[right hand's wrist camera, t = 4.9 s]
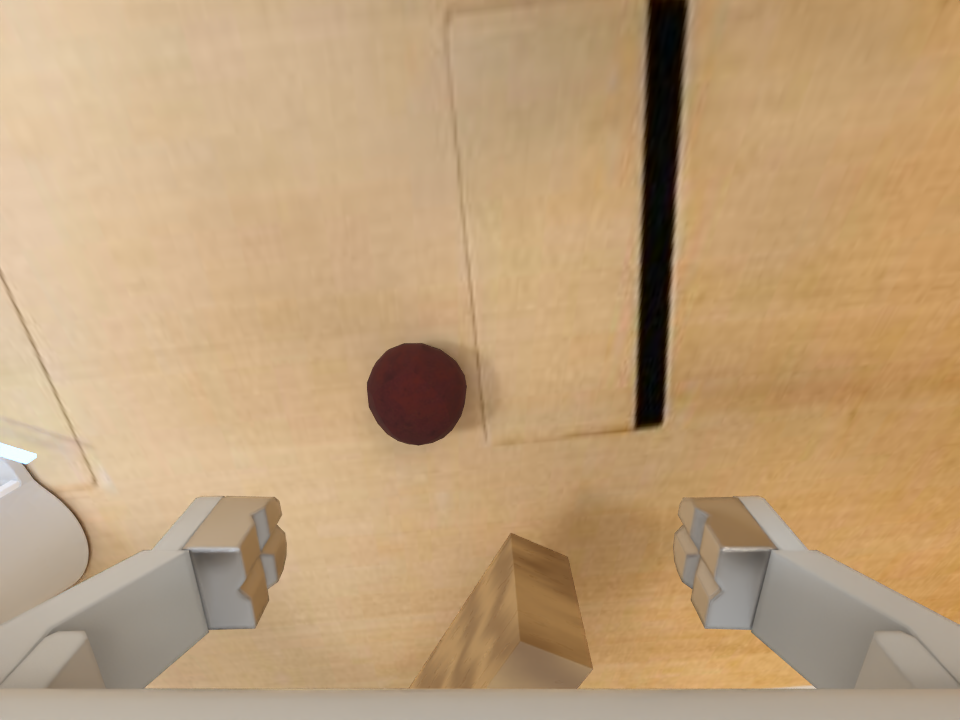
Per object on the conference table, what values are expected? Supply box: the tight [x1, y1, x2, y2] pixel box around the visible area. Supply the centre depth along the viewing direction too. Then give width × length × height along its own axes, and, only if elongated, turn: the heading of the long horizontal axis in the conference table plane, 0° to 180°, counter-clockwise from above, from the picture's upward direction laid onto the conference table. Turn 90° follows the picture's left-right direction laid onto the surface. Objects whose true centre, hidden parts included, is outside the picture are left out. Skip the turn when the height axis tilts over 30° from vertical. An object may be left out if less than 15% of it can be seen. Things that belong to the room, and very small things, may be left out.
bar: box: [409, 533, 593, 689], centre depth 36 cm, size 25×5×9 cm, turn 153°
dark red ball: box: [367, 343, 467, 445], centre depth 39 cm, size 7×8×7 cm
